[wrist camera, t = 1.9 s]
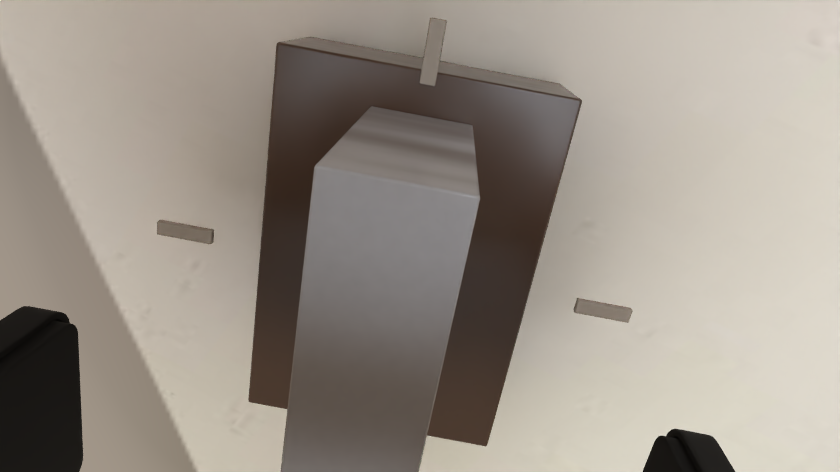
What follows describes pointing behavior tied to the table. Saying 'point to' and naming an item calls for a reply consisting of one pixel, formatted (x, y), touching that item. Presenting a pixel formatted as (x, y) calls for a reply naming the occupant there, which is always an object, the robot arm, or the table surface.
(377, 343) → the gray box
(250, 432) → the table surface
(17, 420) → the robot arm
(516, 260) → the base
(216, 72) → the table surface
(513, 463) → the table surface
